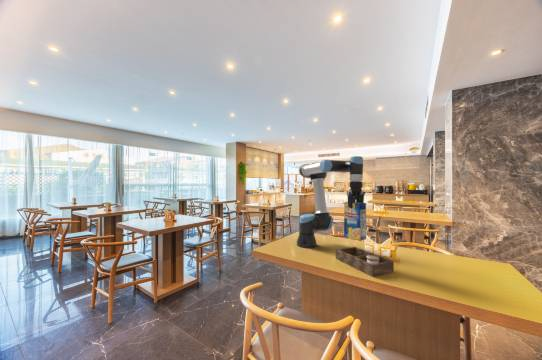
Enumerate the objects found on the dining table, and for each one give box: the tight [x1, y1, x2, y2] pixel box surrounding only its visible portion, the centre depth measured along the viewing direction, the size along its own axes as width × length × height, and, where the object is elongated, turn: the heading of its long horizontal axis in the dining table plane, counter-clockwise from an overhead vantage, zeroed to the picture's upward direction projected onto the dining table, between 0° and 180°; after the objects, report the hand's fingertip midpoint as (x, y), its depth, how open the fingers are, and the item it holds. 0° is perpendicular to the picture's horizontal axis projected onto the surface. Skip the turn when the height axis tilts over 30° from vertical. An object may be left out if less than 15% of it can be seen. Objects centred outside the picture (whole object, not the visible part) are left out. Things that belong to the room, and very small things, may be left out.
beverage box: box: [343, 201, 367, 242], centre depth 135 cm, size 7×11×22 cm, turn 39°
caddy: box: [335, 246, 395, 278], centre depth 129 cm, size 28×16×6 cm, turn 24°
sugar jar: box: [366, 255, 379, 264], centre depth 123 cm, size 7×7×7 cm
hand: (355, 219), depth 135 cm, fingers open, 3 cm apart
